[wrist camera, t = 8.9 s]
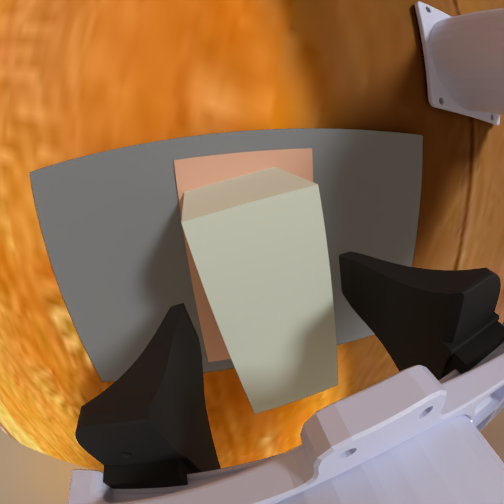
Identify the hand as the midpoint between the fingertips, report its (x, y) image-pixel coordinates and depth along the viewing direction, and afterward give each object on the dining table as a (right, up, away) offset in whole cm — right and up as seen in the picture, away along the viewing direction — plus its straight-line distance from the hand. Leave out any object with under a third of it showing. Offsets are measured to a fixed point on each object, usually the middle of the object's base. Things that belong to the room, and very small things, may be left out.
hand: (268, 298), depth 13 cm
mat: (-1, +1, +3) cm, 4 cm away
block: (-1, +1, +3) cm, 3 cm away
